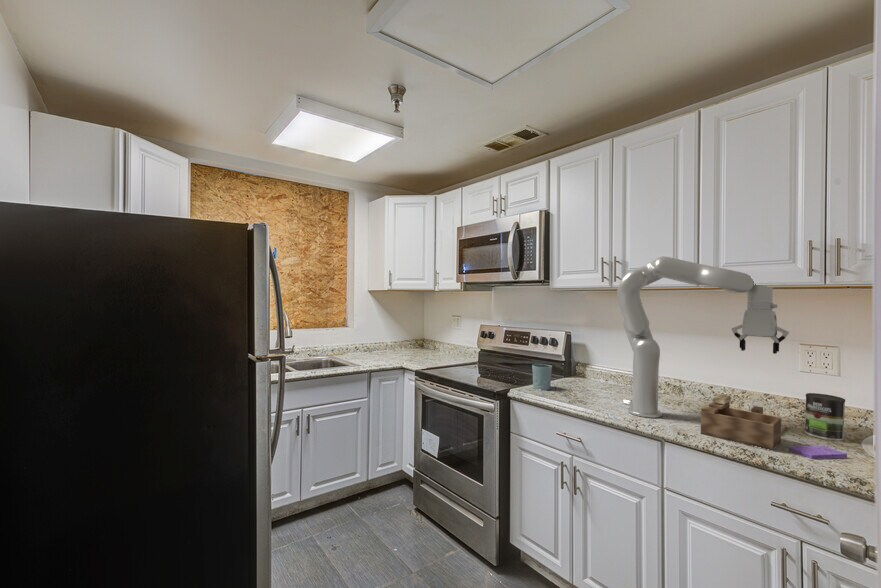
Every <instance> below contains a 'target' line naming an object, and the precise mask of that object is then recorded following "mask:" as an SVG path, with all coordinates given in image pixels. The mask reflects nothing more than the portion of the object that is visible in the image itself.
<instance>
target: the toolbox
mask: <svg viewBox="0 0 881 588" xmlns="http://www.w3.org/2000/svg"><path fill="white" fill-rule="evenodd" d="M730 404H731V403H730V401H729V402H728V403H726V404H719V403H713V401H712V402H711V403H709V404H708V406H707V405H705V406H703V407H701V408H700V435H705V436H709V437H712V438H717V439H721V440H725V441H729V442H733V441H734V442H733V443H737V442H738V443H737V444H741V443H743V445H746V444H747V445H746V446H750V445H753V446H752V447H754V446H757V447H756V448H758V447H761V448H760V449H762V448H765V449H764V450H767V449H769V450H768V451H771V450H773V449H774V448H775V447H776V448H777V446H779V444H780V443H781V441H782V434H781V424H782V417H780V416H774V415H769V414H764V413H763V414H759V413H754V412H751V411H747V410H742V409H737V408H732V407H730V406H731V405H730ZM776 448H775V449H776ZM775 449H774V450H775ZM774 450H773V451H774Z"/></svg>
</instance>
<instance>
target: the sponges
mask: <svg viewBox="0 0 881 588" xmlns="http://www.w3.org/2000/svg"><path fill="white" fill-rule="evenodd" d="M788 450H790V452H792V453H795V454H797V455H800V456H803V457H806V458H808V459H811V460H813V459H814V460H818V459H819V460H820V459H823V460H824V459H826V460H827V459H848V453H846V452H843V451H840V450H837V449H834V448H830V447H828V446H826V445H801V446H800V445H799V446H796V445H795V446H793V445H792V446H791V445H790V446H788Z"/></svg>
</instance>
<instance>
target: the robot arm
mask: <svg viewBox="0 0 881 588" xmlns="http://www.w3.org/2000/svg"><path fill="white" fill-rule="evenodd" d="M663 278H664V279H669V280H673V281H678V282H680V283H681V282H682V283H685V284H688V285H694V286H705V287H713V288H717V289H718V288H719V289H723V290H724V291H725V292H726V293H729V294H744V293H747V295H746V296H747V299H746V300H747V301H746V302H747V305H746V307H747V308H746V309H745V310H744V314H743V319H742V324H740V325H737V326H734V327H731V331H732V333H733V335H734V336H735V337H736V338H737V339H738V340H739V349H740V351H745V350H746V340H745V339H746V338H747V337H757V338H758V337H760V338H770V339H772V341H773V342H772V354H774V355H776V354H777V353H779V352H780V343H781V342H782V341H783V340H786V338H787V337H788V335H789V334H790V332H789V331H788V330H786V329H785V328H781V327H780V326H778V321H777V313H776V311H775V310H773V309H778V304H776V303H774V302H773V297H774V296H773V293H774V292H773V291H774V288H773V287H774V286H773V287H767V286H763V285H756V284H755V285H754V281H753V279H752V277H751V276H750V275H749V274H747V273H744V272H740V271H737V270H733V269H728V268H723V267H719V266H718V267H717V266H712V265H707V264H702V263H698V262H692V261H689V260H685V259H684V260H683V259H679V258H674V257H671V256H659V257H657V258H656V259H653V260H652V261H650V262H648V263H646V264H644V265H642V266H639V267H637V268H635V269H634V268H633V269H632V270H630V271H628V272H627V273H626V274H625V275H624V276H623V278H622V279H621V280H620V281H619V284H618V287H617V292H616V296H617V301H618V306H619V308H620V311H621V315H622V317H623V319H622V320H623V328H624V331H625V333H626V337H627V339H628V341H629V344H630V347H631V350H632V352H633V356H632V357H633V358H632V361H633V362H632V394H631V395H632V397H631V399H632V400H629V399H625V398H624V399H623V400H622V404H623V405H624V406H629V407H628V408H627V411H628V413H629V414H631V415H634V416H638V417H643V418H649V419H651V418H653V419H654V418H660V417H662V416H663V412H662V411H661V410H659V371H660V370H659V369H660V368H659V367H660V358H661V349H660V346H659V343H658V342H657V341H656V340H655V339H654V337H653V334H652V332H651V329H650V320H649V318H648V316H647V313H646V312H645V309H644V307H643V303H642V300H641V294H640V293H641V290H642V289H643V288H644V287H647V286H649V285H651V284H653V283H656V282H657V281H659V280H661V279H663ZM738 330H741V332H742V334H740V333H739V332H738ZM778 332H780V333H782V335H781V336H780V337H777V335H778Z"/></svg>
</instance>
